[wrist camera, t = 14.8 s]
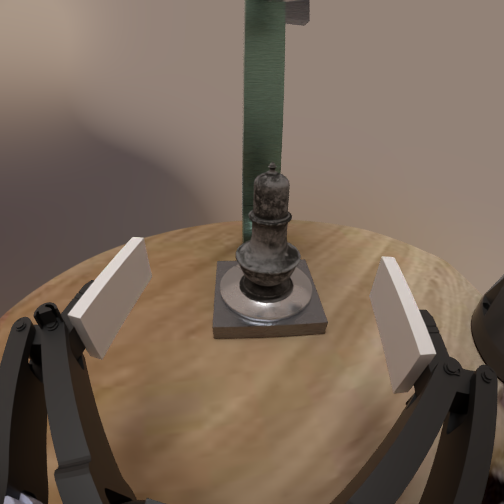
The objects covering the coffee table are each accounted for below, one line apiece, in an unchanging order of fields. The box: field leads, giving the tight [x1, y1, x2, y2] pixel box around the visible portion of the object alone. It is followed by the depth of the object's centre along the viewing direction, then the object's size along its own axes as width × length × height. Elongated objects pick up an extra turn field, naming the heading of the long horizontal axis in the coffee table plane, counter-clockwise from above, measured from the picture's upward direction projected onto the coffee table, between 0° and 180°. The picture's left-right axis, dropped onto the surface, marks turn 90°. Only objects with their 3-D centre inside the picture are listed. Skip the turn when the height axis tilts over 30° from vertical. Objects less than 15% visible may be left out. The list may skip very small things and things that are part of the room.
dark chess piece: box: [236, 162, 301, 303], centre depth 24 cm, size 6×6×12 cm
